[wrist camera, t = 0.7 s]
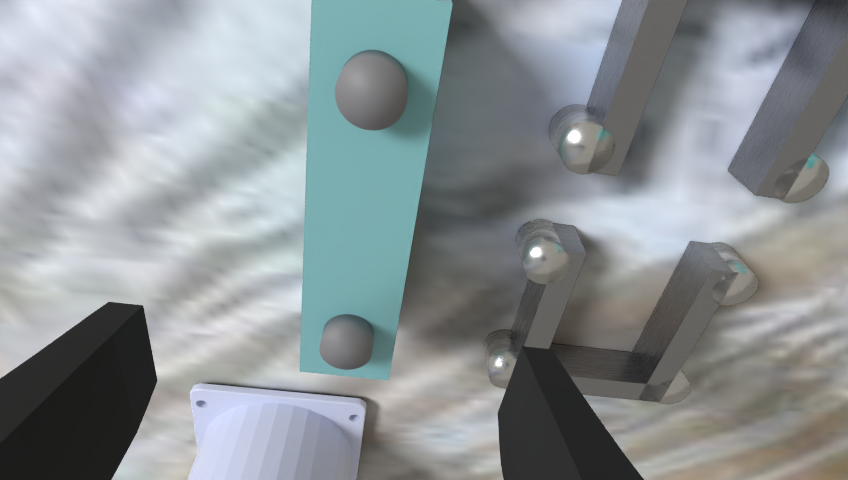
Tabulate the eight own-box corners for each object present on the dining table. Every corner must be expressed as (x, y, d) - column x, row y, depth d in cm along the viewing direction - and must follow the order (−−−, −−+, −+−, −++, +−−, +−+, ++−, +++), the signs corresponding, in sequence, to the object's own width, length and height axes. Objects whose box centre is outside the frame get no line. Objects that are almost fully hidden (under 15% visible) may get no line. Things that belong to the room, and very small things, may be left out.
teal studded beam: (393, 295, 22) (387, 399, 17) (320, 286, 21) (295, 390, 17) (444, -25, 15) (454, 11, 11) (339, -43, 15) (305, -14, 10)
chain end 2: (778, 180, 18) (810, 206, 17) (543, 146, 18) (554, 170, 16) (915, -49, 15) (971, -43, 13) (618, -105, 14) (643, -105, 12)
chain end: (664, 373, 24) (681, 405, 22) (481, 354, 23) (485, 386, 22) (740, 245, 20) (766, 273, 19) (522, 216, 19) (531, 244, 18)
